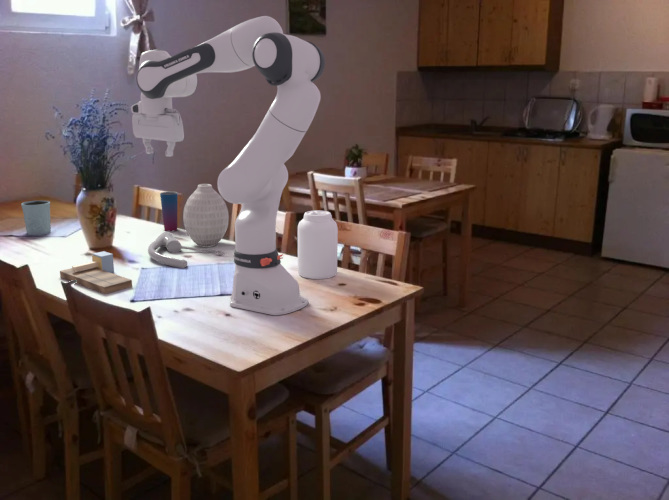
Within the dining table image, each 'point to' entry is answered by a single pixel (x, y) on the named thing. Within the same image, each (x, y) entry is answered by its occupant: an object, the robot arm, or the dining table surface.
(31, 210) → the pale blue tumbler
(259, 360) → the dining table surface
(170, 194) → the cup
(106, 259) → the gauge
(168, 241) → the faucet
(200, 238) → the vase
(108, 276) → the board
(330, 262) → the white jar
